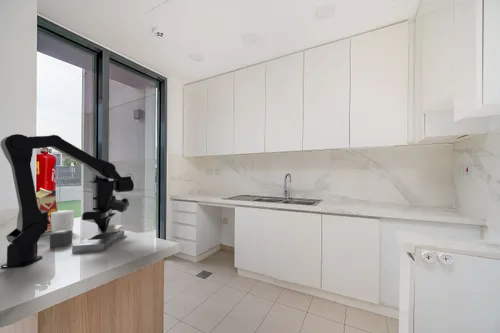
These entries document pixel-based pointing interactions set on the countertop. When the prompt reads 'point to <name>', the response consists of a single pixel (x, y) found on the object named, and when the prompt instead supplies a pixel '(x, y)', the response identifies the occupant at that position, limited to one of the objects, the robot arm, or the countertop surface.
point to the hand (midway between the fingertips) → (104, 232)
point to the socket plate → (97, 242)
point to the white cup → (62, 220)
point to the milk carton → (47, 204)
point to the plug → (60, 238)
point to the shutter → (112, 228)
